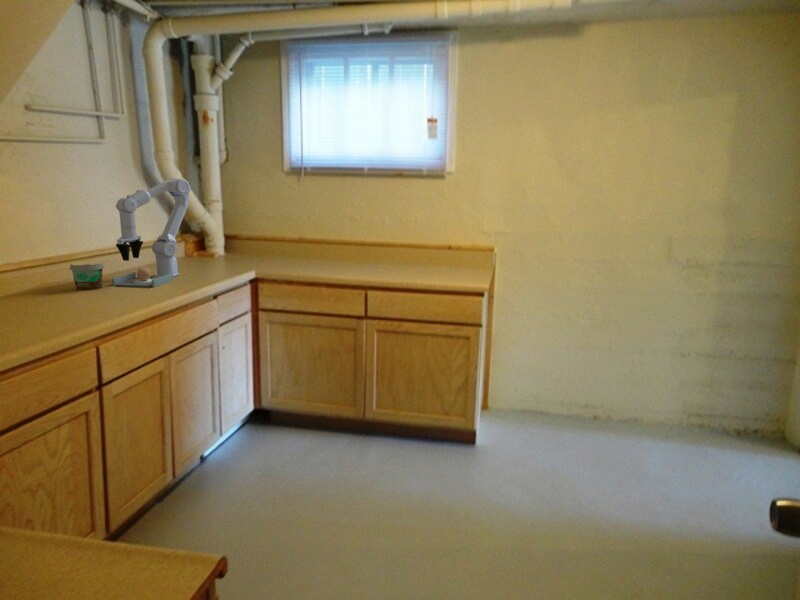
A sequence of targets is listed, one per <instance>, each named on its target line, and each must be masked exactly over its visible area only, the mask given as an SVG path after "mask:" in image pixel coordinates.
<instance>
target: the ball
mask: <svg viewBox="0 0 800 600" xmlns="http://www.w3.org/2000/svg"><path fill="white" fill-rule="evenodd" d="M137 277H138V278H139V279H140V280H143V281H145V280H148V279H149V278H150V277H152V272H151V270H150V269H149V268H148V267H140V268H138V270H137V271H136V278H137Z"/></svg>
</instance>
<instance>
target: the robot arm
mask: <svg viewBox="0 0 800 600" xmlns="http://www.w3.org/2000/svg"><path fill="white" fill-rule="evenodd" d="M191 188H192V187H191V185H190V184H189V181H188V180H186V179H185V178H181V179H180V178H170V179H167V180H163V181H162V182H161V183H159V184H155V186H153V187H151V188H149V189H147V190H144V189H137V190H136V192H134V193H133V194H127V195H126V197H122V198H119V199H118V200H117V201H116V204H115V208H116V209H117V210H118V212H119V222H120V223H119V224H120V233H121V236H120V237H119V238H118V239H117V240H116V244H115V247H116V249H118V250H119V253H120V255H121V258H122V261H124V262H125V261H127V262H129V261H130V251H131V256H132V258H133V259H139V258H140V252H141V248H142V246H143V243H144V241H143V240H142V236H141V235H137V227H136V226H137V225H136V224H137V223H136V215H135V213H136V210H137V209H138V208H140V207H142V206H145V205H146V204H148V203H150V201H151V198H154V197H157V196H159V195H161V194H163V193H165V192H168V193H169V195H170V196H171V197H173V199H174V201H175V203H174V205H173V208H172V210H171V212H170V215H169V217H168V219H167V222H166V225H165V227H164V230H163V231H162V234H160V235H159V236H158V237H156V240H155V241H154V242H153V243H152V245H151V250H152V252H153V253H154V254H155V265H156V275H153V277H161V276H164V275H167V274H170V273H173V278H174V277H176V276H179V275H180V274H181V273H180V272H179V270H178V260H177V258H176V257H175V256H174V255H175V254H176V251H177V244H178V242H177V240H176V236H177V233H178V231H179V229H180V226H181V224H182V221H183V219H184V217H185V215H186V211H187V210H188V207H189V205H190V192H191ZM130 249H131V250H130Z"/></svg>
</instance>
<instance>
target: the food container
mask: <svg viewBox="0 0 800 600" xmlns="http://www.w3.org/2000/svg"><path fill="white" fill-rule="evenodd" d="M103 269H105V265H104V263H103V262H100V263H96V264H81V265H76V264H72V263H70V265H69V270H70V271H71V272H72V278H73V281H74V285H75V289H76V290H78V291H94V290H99V289H101V288H103V273H104V272H103Z"/></svg>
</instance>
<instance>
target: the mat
mask: <svg viewBox="0 0 800 600" xmlns="http://www.w3.org/2000/svg"><path fill="white" fill-rule="evenodd" d="M156 278H158V277H152V276H151V277H150V278H149V279H148V280H145V281H143V280H140V279H139V278H138V277H137V276H136V278H134V279H131V280H128V281H125V282H122V283H119V284H116V286H115V287H119V288H120V287H123V288H146V289H147V288H148V289H149V288H152V280H153V279H156Z"/></svg>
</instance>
